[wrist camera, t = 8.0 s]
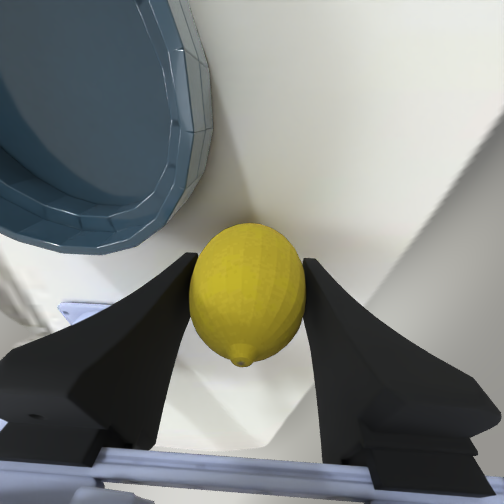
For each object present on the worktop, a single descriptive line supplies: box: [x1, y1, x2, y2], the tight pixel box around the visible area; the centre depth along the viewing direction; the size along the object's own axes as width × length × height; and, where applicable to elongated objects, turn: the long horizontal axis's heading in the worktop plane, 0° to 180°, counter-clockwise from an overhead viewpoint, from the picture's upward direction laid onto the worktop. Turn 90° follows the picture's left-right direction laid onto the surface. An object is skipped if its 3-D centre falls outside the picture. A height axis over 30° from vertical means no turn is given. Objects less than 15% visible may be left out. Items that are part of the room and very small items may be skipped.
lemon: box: [189, 223, 306, 367], centre depth 10 cm, size 6×6×8 cm
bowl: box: [0, 0, 213, 255], centre depth 8 cm, size 13×13×4 cm
